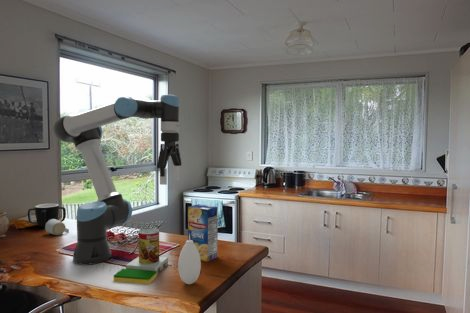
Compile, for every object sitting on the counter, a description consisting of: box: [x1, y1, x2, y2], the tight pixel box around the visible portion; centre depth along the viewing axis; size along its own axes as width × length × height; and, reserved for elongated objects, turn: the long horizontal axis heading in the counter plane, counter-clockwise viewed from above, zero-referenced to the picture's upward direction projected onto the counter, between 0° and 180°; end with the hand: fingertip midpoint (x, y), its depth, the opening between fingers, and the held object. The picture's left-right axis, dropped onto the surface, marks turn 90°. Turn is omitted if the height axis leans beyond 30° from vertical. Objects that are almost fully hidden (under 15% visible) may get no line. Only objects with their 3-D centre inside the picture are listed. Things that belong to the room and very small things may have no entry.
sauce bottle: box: [177, 233, 202, 285], centre depth 125 cm, size 8×8×18 cm
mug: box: [27, 203, 67, 228], centre depth 205 cm, size 16×16×12 cm
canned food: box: [138, 228, 160, 265], centre depth 139 cm, size 8×8×12 cm
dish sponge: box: [112, 268, 158, 285], centre depth 130 cm, size 7×14×2 cm, turn 80°
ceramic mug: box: [44, 219, 70, 236], centre depth 189 cm, size 11×8×8 cm
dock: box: [125, 255, 169, 275], centre depth 140 cm, size 12×12×3 cm
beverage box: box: [187, 203, 219, 262], centre depth 153 cm, size 7×11×22 cm, turn 56°
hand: (170, 182), depth 150 cm, fingers open, 13 cm apart
